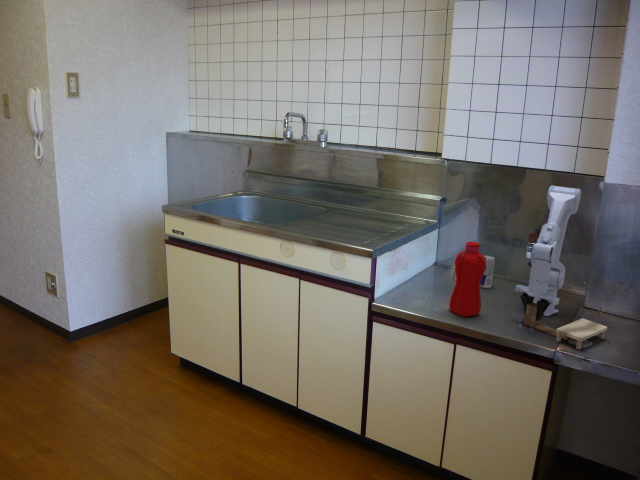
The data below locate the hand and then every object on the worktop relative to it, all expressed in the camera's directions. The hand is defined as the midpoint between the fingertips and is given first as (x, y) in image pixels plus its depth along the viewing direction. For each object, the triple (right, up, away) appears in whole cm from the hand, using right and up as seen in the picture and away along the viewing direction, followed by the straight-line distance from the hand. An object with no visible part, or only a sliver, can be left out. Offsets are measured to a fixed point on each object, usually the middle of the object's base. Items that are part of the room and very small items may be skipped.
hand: (532, 318), depth 180 cm
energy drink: (-5, +7, +36) cm, 37 cm away
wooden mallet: (+3, -4, -4) cm, 6 cm away
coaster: (+10, -7, -12) cm, 17 cm away
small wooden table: (+11, -6, -9) cm, 15 cm away
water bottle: (-21, +1, +8) cm, 23 cm away
